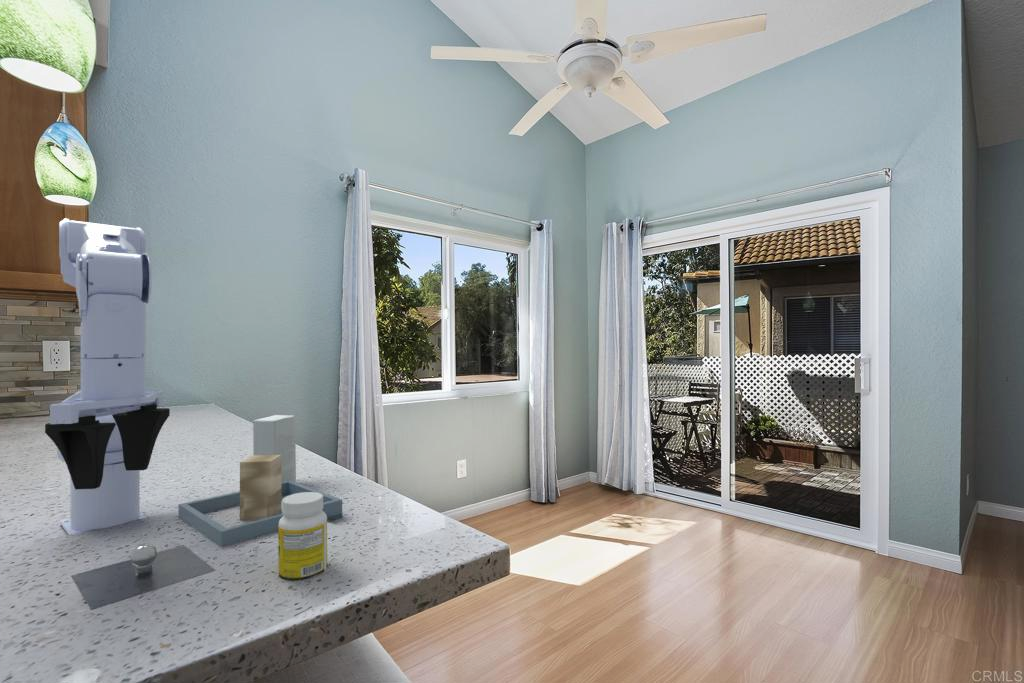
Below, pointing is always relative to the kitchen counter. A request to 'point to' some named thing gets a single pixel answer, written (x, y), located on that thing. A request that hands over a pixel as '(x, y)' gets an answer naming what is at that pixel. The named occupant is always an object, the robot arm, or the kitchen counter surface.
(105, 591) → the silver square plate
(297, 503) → the supplement bottle
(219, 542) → the bin
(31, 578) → the kitchen counter surface
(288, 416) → the skincare box
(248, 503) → the strut
